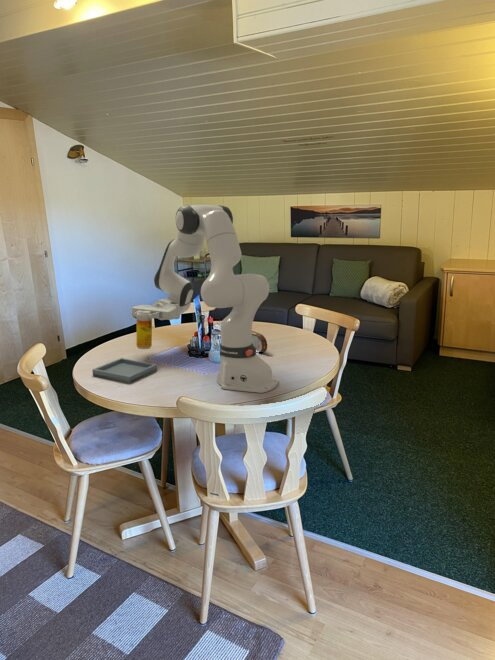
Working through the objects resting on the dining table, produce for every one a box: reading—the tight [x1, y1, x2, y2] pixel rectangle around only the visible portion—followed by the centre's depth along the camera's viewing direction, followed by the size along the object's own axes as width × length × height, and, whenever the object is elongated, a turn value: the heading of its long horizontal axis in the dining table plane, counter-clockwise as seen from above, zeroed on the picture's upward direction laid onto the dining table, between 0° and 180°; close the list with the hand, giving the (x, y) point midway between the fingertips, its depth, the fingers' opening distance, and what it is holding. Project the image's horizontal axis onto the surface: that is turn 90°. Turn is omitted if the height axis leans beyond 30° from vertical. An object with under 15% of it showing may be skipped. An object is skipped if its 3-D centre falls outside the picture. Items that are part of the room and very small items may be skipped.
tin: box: [252, 330, 268, 353], centre depth 212 cm, size 15×3×8 cm, turn 34°
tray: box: [92, 357, 158, 384], centre depth 185 cm, size 18×16×2 cm
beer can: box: [136, 311, 153, 350], centre depth 197 cm, size 6×6×15 cm
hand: (142, 315), depth 195 cm, fingers closed on beer can, 5 cm apart
